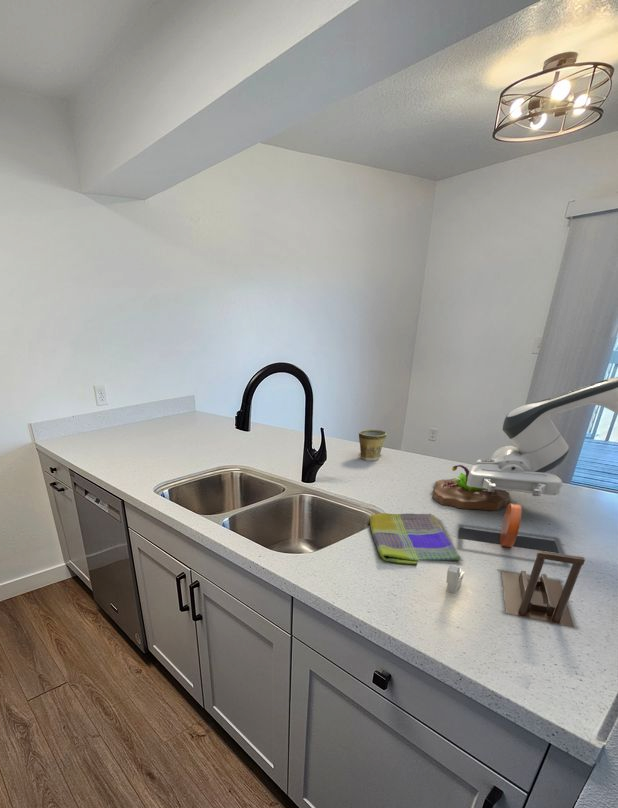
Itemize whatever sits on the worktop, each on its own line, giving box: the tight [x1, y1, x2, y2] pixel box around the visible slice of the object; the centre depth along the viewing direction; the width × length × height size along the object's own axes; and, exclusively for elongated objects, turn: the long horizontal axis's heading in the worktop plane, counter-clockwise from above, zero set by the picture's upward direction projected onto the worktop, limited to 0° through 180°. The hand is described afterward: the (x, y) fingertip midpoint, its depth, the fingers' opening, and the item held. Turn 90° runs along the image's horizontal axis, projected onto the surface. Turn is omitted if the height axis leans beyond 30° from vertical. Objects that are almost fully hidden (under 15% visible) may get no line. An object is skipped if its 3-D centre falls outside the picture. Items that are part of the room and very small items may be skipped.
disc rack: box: [500, 550, 586, 628], centre depth 80 cm, size 10×16×14 cm, turn 152°
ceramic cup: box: [358, 429, 388, 462], centre depth 168 cm, size 13×10×10 cm
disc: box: [499, 502, 523, 548], centre depth 100 cm, size 2×10×10 cm, turn 152°
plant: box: [432, 464, 510, 512], centre depth 127 cm, size 20×20×11 cm
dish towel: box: [368, 512, 461, 565], centre depth 107 cm, size 18×24×3 cm
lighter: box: [445, 565, 465, 595], centre depth 85 cm, size 7×2×8 cm, turn 139°
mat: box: [458, 527, 561, 554], centre depth 102 cm, size 20×14×1 cm
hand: (514, 491), depth 106 cm, fingers open, 8 cm apart
